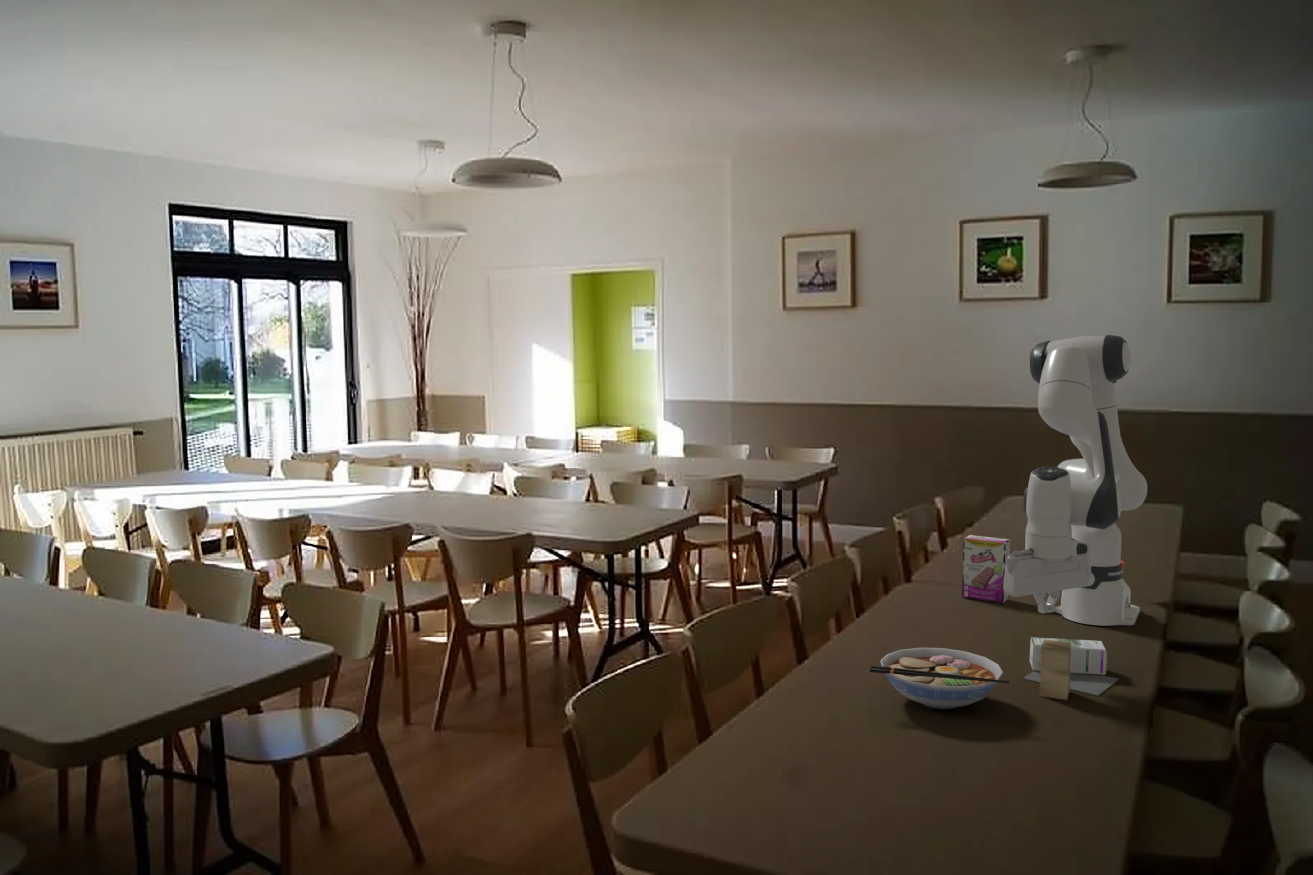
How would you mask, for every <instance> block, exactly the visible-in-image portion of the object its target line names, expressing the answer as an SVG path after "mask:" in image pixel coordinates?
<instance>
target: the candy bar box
mask: <svg viewBox="0 0 1313 875" xmlns="http://www.w3.org/2000/svg"><path fill="white" fill-rule="evenodd" d="M962 547H963V549H962V580H961V584H962V586H961V598H964V599H970V600H972V599H973V600H978V601H979V600H980V601H985V602H993V603H1000V604H1005V602H1006V601H1008V600H1009V594H1006V592H1005V591H1004V589H1003V583H1004V575H1005V568H1006V565H1007V558H1008V557H1009V556H1010V555H1011V553H1010V552H1011V539H1009V538H1000V537H991V536H983V535H975V534H974V535H973V534H968V535H966V536H965V537H963V546H962Z"/></svg>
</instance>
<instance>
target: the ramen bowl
mask: <svg viewBox="0 0 1313 875" xmlns="http://www.w3.org/2000/svg"><path fill="white" fill-rule="evenodd" d="M880 664H881V665H874V664H871V665H870V667H869V673H877V674H885V677H886V678H887V680H888V682H889V683H890V684H891V685H892V686H893V688H894V689H895V690H896V691H898V692H899V693H900V694H901V695H903V696H905V697H906V698H907V699H908V700H911V701H914V702H916V703H919V704H922V705H923V706H925V707H928V708H931V709H936V710H953V709H956V708H958V707H960V708H961V707H966V706H969V705H972V704H974V703H977V702H979V701H981V700H984V699H985V697H986V696H988V695H989V694H990V692H991V691H992V690H993V689H994V687H995V686H996V685H997V683H1001V684H1002V683H1003V684H1009V683H1010V681H1009V680H1000V678H1001V677H1002V676H1003V673H1004V671H1003V670H1002V668H1001V666H1000V665H999V664H998V663H996V662H995V661H993V660H992V659H990V658H987V657H986V656H983V655H980V654H975V653H973V652H969V651H965V650H958V649H952V648H944V647H914V648H913V647H912V648H906V649H904V648H903V649H899V650H896V651H894V652H890V653H887V654H886V655H885V656H884V657H882V658H881V659H880Z"/></svg>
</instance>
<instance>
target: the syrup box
mask: <svg viewBox="0 0 1313 875" xmlns="http://www.w3.org/2000/svg"><path fill="white" fill-rule="evenodd" d="M1044 639H1045V640H1053V641H1061V642H1070V643H1071V664H1070V673H1083V674H1098V675H1103V676H1106V673H1107V668H1108V667H1107V666H1108V655H1107V653H1108V652H1107V649H1106V648H1105V646H1104V644H1103V641H1101V640H1091V639H1090V640H1088V639H1072V638H1071V639H1069V638H1055V637H1053V638H1052V637H1035V636H1030V645H1029V647H1030V648H1029V664H1030V666H1031V670H1032V671H1041V646H1042V644H1043V641H1044Z"/></svg>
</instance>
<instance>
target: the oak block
mask: <svg viewBox="0 0 1313 875" xmlns="http://www.w3.org/2000/svg"><path fill="white" fill-rule="evenodd" d="M1070 664H1071V643H1070V642H1061V641H1053V640H1045V639H1044V641H1043V644H1042V646H1041V674H1040V683H1039V696H1040V697H1045V698H1053V699H1058V700H1064V701H1065V700H1066V701H1067V700H1068V699H1069V695H1070V692H1071V690H1070Z"/></svg>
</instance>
